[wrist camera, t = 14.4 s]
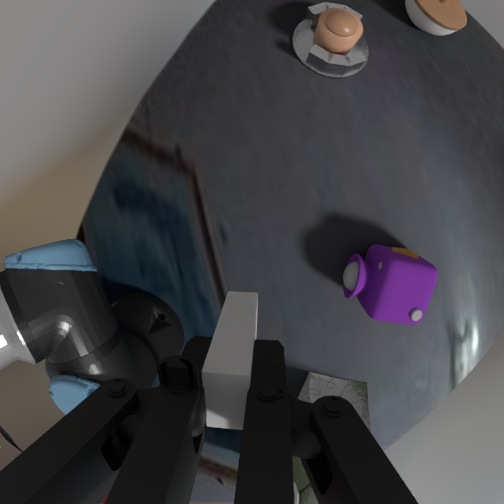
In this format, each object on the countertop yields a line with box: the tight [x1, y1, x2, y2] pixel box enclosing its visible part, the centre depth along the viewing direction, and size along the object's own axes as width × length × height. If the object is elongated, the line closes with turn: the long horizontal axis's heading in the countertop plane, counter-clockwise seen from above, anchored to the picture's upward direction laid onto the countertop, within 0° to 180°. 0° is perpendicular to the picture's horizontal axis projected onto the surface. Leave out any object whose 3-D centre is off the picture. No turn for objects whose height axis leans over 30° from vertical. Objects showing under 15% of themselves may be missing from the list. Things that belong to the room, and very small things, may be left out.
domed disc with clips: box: [293, 2, 368, 78], centre depth 33 cm, size 12×12×5 cm
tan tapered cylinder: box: [313, 8, 363, 56], centre depth 31 cm, size 6×6×8 cm
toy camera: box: [343, 244, 438, 325], centre depth 39 cm, size 11×14×10 cm
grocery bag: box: [292, 372, 370, 504], centre depth 43 cm, size 32×14×23 cm, turn 161°
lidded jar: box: [405, 0, 467, 35], centre depth 27 cm, size 11×11×9 cm
